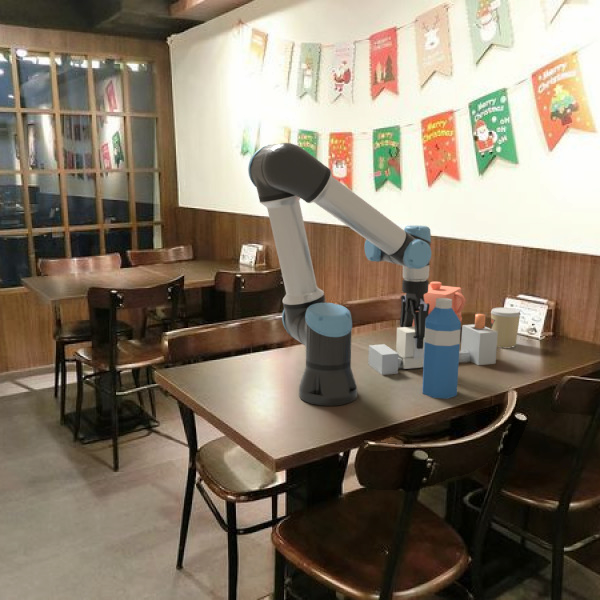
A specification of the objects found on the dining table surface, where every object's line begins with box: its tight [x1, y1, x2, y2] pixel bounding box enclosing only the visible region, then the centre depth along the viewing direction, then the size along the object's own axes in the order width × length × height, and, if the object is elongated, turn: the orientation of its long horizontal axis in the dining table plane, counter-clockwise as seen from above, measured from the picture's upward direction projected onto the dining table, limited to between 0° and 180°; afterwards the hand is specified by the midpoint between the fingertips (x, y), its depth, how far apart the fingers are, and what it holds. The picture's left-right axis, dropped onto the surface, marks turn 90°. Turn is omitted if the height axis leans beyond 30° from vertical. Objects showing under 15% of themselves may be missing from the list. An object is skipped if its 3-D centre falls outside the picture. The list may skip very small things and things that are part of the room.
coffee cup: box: [490, 307, 521, 348], centre depth 199 cm, size 9×9×12 cm
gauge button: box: [474, 313, 487, 329], centre depth 181 cm, size 3×3×4 cm
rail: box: [398, 350, 471, 370], centre depth 179 cm, size 26×2×3 cm, turn 106°
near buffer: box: [367, 343, 399, 376], centre depth 175 cm, size 5×10×6 cm, turn 16°
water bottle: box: [422, 298, 462, 399], centre depth 154 cm, size 9×9×25 cm
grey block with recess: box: [460, 323, 498, 366], centre depth 183 cm, size 6×10×10 cm, turn 16°
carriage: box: [395, 326, 425, 370], centre depth 177 cm, size 8×6×11 cm
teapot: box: [412, 281, 467, 327], centre depth 216 cm, size 25×23×18 cm
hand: (412, 355), depth 177 cm, fingers closed on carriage, 6 cm apart
